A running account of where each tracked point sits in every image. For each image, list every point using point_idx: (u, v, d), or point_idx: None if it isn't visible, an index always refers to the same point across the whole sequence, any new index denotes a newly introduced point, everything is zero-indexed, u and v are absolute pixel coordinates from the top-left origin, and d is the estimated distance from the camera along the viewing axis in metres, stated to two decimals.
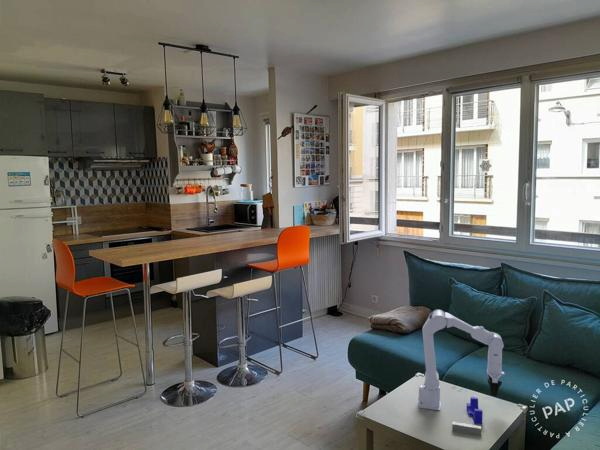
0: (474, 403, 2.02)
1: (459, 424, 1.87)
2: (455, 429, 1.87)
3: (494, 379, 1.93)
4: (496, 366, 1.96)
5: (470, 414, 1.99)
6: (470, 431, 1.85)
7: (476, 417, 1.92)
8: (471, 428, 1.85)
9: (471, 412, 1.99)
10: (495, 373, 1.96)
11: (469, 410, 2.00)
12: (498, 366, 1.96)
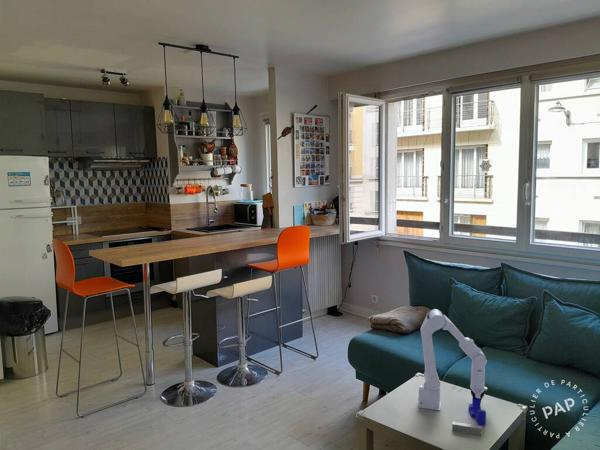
0: (476, 404, 2.01)
1: (459, 424, 1.87)
2: (455, 429, 1.87)
3: (477, 395, 1.97)
4: (479, 382, 2.01)
5: (473, 415, 1.98)
6: (470, 431, 1.85)
7: (479, 418, 1.91)
8: (471, 428, 1.85)
9: (474, 413, 1.98)
10: (478, 388, 2.01)
11: (471, 411, 1.99)
12: (481, 381, 2.01)
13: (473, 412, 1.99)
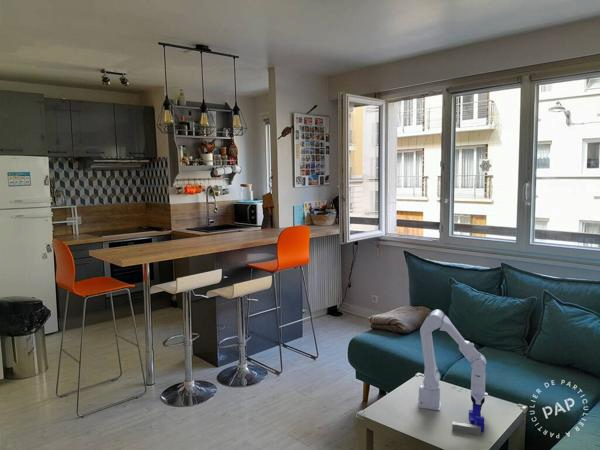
0: (476, 410, 1.96)
1: (459, 424, 1.87)
2: (455, 429, 1.87)
3: (477, 401, 1.92)
4: (479, 387, 1.96)
5: (472, 421, 1.93)
6: (470, 431, 1.85)
7: (478, 425, 1.86)
8: (471, 428, 1.85)
9: (473, 419, 1.93)
10: (478, 394, 1.96)
11: (471, 417, 1.94)
12: (481, 387, 1.96)
13: (472, 418, 1.94)
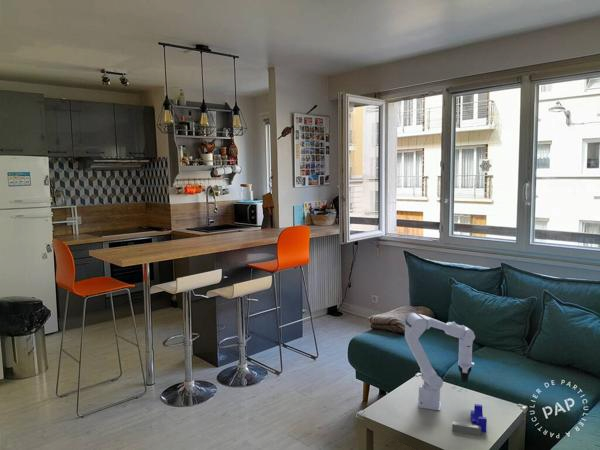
0: (478, 410, 1.96)
1: (459, 424, 1.87)
2: (455, 429, 1.87)
3: (464, 369, 2.02)
4: (466, 357, 2.06)
5: (474, 422, 1.93)
6: (470, 431, 1.85)
7: (480, 425, 1.86)
8: (471, 428, 1.85)
9: (475, 420, 1.93)
10: (465, 364, 2.06)
11: (473, 418, 1.94)
12: (468, 357, 2.06)
13: (474, 419, 1.94)
